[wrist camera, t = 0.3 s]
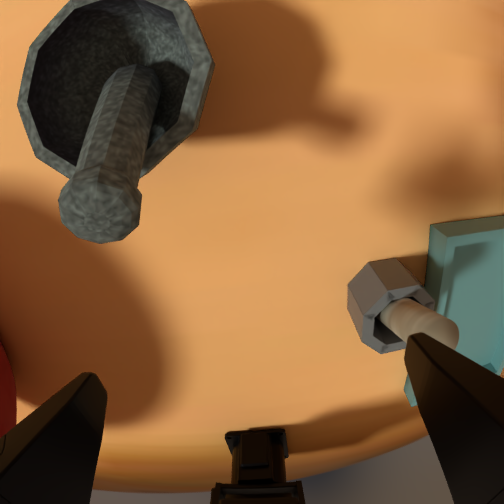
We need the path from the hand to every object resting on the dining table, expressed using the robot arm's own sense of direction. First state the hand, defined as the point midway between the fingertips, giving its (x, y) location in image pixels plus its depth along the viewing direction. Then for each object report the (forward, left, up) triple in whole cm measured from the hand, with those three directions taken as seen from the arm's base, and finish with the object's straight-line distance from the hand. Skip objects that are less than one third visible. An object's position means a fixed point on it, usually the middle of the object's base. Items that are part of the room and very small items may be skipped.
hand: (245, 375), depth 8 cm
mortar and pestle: (+9, +5, -14) cm, 17 cm away
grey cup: (-7, -9, -14) cm, 18 cm away
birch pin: (-7, -9, -13) cm, 18 cm away
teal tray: (-11, -19, -14) cm, 26 cm away
